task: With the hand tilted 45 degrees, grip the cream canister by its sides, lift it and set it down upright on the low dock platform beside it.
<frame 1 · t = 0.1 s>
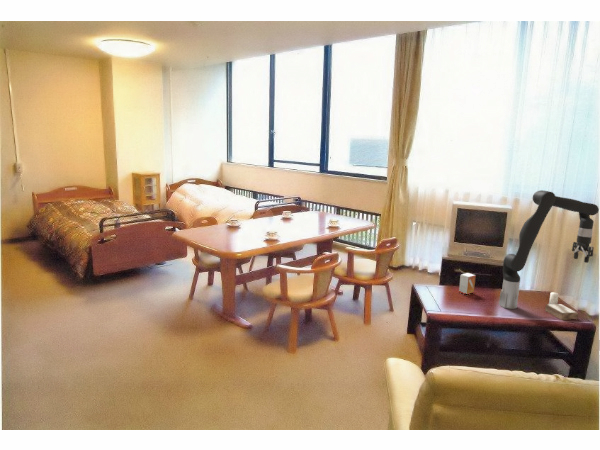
hand: (580, 260, 268), 29 cm above the table, tool pointing down, fingers open, 8 cm apart
dock: (560, 314, 256), on the table
small box: (466, 293, 291), on the table
canister: (552, 305, 272), on the table
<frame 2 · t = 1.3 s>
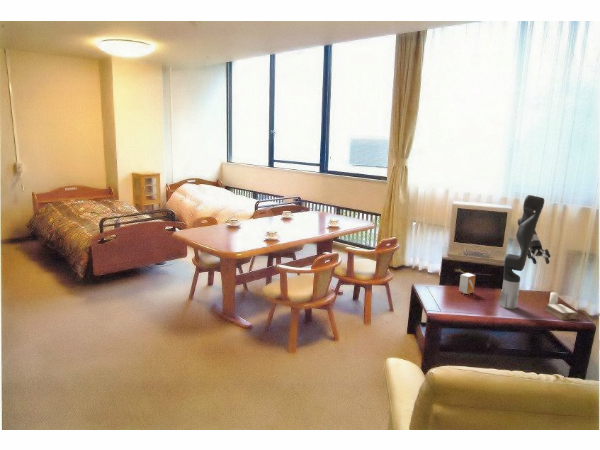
hand: (541, 263, 283), 23 cm above the table, tool tilted 45°, fingers open, 8 cm apart
nothing on the table moved.
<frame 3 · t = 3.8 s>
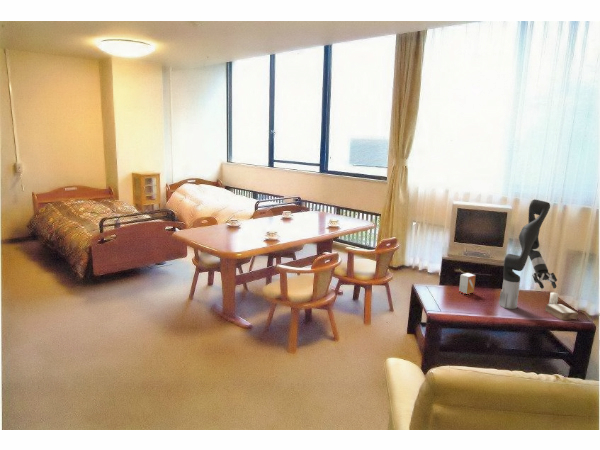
hand: (548, 288, 275), 10 cm above the table, tool tilted 45°, fingers open, 8 cm apart
nothing on the table moved.
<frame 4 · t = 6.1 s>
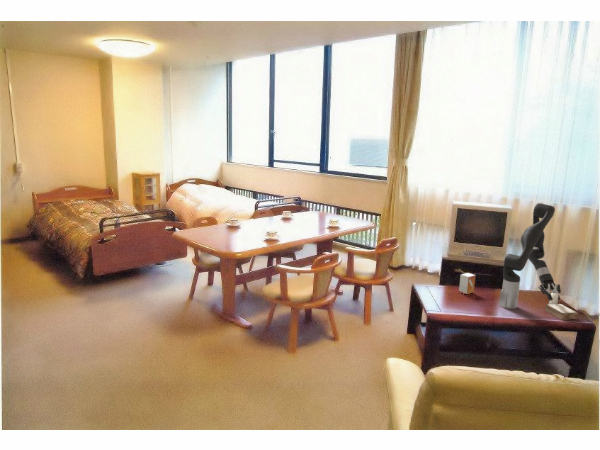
hand: (555, 299, 270), 4 cm above the table, tool tilted 45°, fingers closed on canister, 4 cm apart
canister: (552, 305, 272), on the table, touching gripper
everything else where it was.
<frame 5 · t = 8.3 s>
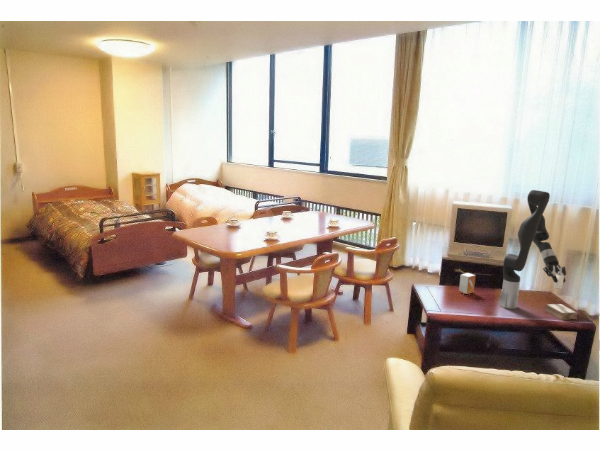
hand: (560, 282, 262), 18 cm above the table, tool tilted 45°, fingers closed on canister, 4 cm apart
canister: (557, 287, 264), point 14 cm above the table, touching gripper
everything else where it was.
when the fingers open (10 cm above the table, at t = 10.9 s): canister drops 1 cm, resting on dock.
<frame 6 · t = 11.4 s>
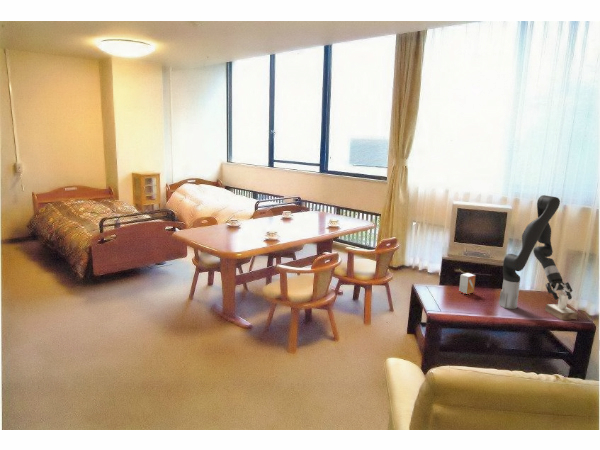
hand: (563, 299, 254), 10 cm above the table, tool tilted 45°, fingers open, 8 cm apart
canister: (561, 308, 256), point 4 cm above the table, touching dock
everything else where it was.
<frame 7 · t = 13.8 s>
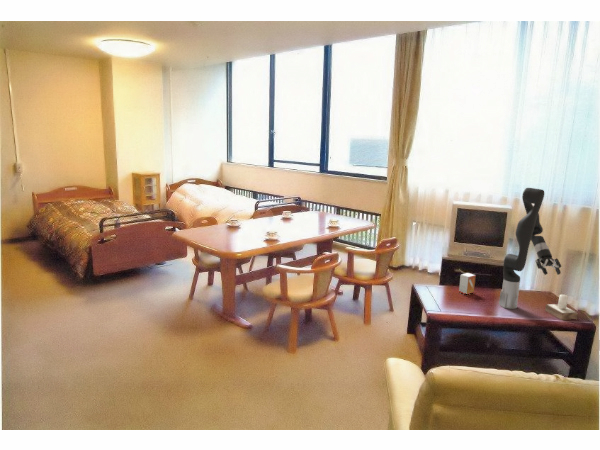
hand: (552, 274, 263), 22 cm above the table, tool tilted 45°, fingers open, 8 cm apart
nothing on the table moved.
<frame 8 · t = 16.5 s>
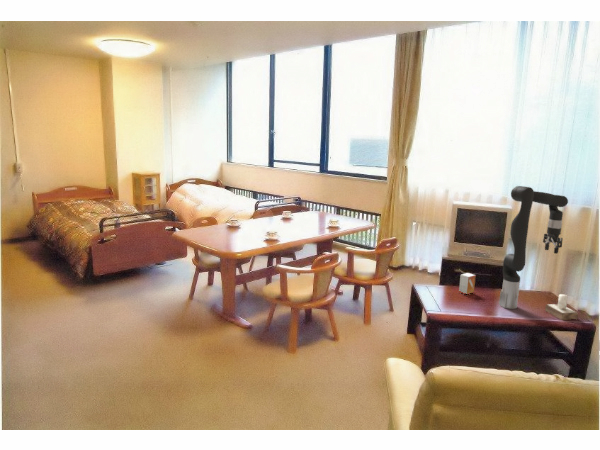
hand: (551, 251, 273), 33 cm above the table, tool pointing down, fingers open, 8 cm apart
nothing on the table moved.
at the end: canister inside the target area on the dock (0.1 cm from its centre), point 4.2 cm above the dock's base; canister tilted 1°; the gripper is holding nothing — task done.
